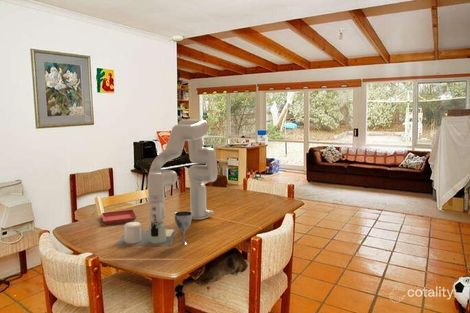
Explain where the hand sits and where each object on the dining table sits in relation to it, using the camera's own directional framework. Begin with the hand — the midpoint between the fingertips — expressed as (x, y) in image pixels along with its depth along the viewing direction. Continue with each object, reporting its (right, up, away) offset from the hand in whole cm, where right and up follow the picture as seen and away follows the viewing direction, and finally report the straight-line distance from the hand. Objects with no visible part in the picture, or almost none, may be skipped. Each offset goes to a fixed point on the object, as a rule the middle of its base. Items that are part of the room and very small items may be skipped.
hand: (157, 232), depth 159 cm
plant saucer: (-31, -1, +35) cm, 46 cm away
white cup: (-12, -4, +1) cm, 13 cm away
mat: (-6, -4, +5) cm, 9 cm away
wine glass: (+13, -5, -2) cm, 14 cm away
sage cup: (0, -4, +1) cm, 4 cm away
